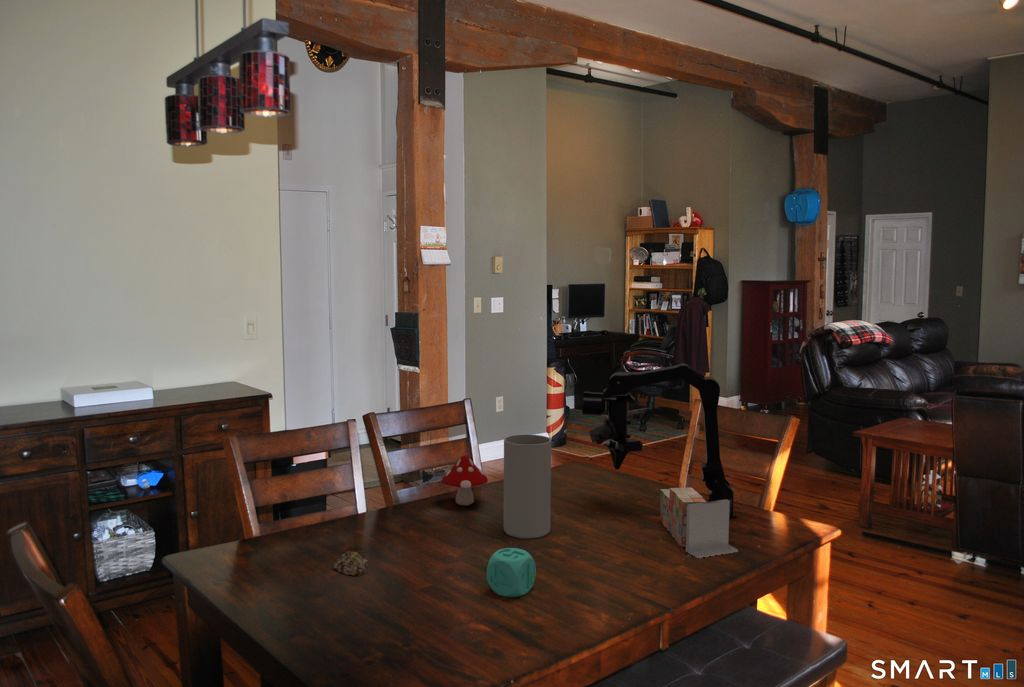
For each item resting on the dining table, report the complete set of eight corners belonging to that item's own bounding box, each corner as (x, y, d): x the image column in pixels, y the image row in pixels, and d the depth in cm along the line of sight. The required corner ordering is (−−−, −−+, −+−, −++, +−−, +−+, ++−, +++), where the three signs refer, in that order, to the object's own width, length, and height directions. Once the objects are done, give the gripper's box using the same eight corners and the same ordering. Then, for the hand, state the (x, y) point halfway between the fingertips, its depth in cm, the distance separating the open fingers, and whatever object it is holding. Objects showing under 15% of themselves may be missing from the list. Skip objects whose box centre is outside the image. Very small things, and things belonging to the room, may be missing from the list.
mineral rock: (327, 555, 181) (359, 541, 184) (332, 571, 182) (363, 557, 185) (339, 572, 171) (372, 557, 175) (344, 589, 173) (377, 574, 176)
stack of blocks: (659, 521, 214) (660, 478, 213) (681, 520, 214) (682, 477, 213) (681, 548, 193) (682, 501, 191) (705, 548, 193) (707, 500, 192)
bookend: (725, 545, 195) (726, 499, 194) (737, 551, 190) (739, 505, 189) (685, 551, 190) (687, 504, 189) (697, 558, 186) (699, 510, 184)
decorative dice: (517, 600, 162) (517, 564, 161) (485, 592, 166) (486, 556, 165) (536, 587, 168) (536, 552, 168) (505, 579, 173) (505, 545, 172)
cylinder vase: (496, 535, 201) (496, 442, 198) (513, 521, 212) (514, 433, 210) (540, 542, 196) (541, 446, 194) (556, 527, 208) (557, 436, 205)
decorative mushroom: (486, 512, 220) (486, 461, 218) (438, 512, 220) (438, 461, 219) (488, 498, 234) (489, 450, 232) (443, 497, 234) (443, 449, 233)
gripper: (578, 412, 227) (577, 464, 228) (609, 424, 209) (608, 480, 211) (611, 410, 231) (610, 460, 232) (644, 421, 214) (643, 476, 215)
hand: (616, 469), depth 223 cm, fingers closed
